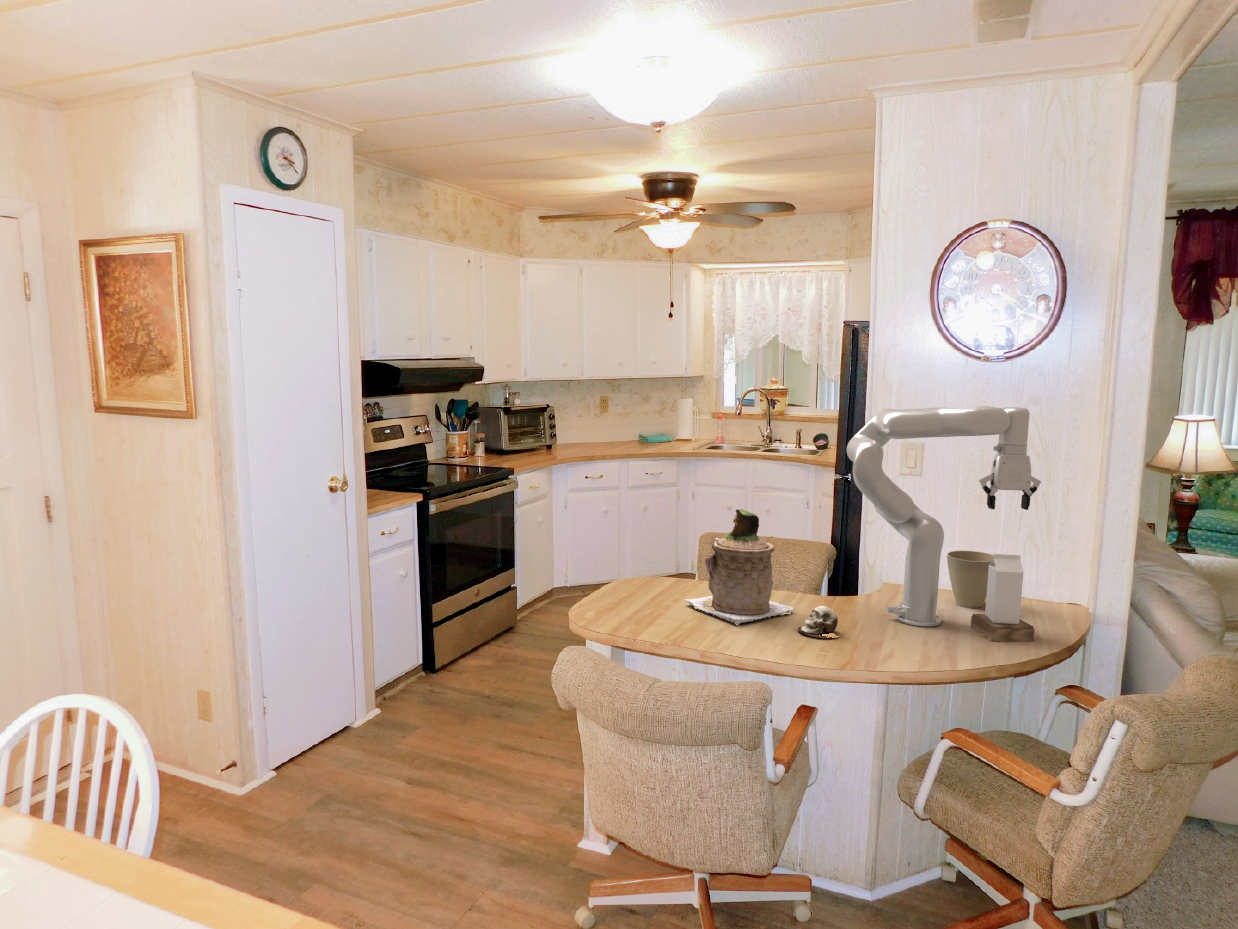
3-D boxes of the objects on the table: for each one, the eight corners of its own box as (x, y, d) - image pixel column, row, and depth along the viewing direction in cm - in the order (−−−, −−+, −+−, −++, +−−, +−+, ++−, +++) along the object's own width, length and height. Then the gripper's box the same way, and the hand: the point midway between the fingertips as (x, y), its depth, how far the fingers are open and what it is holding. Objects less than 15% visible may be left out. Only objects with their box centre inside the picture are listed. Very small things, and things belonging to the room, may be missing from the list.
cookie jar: (797, 614, 250) (801, 510, 246) (736, 628, 236) (740, 517, 232) (741, 594, 270) (744, 497, 266) (682, 605, 256) (685, 504, 252)
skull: (811, 639, 224) (800, 604, 230) (798, 653, 233) (788, 620, 238) (851, 635, 227) (839, 601, 233) (837, 649, 235) (826, 616, 241)
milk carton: (1019, 624, 230) (1024, 558, 228) (992, 623, 231) (997, 557, 228) (1010, 617, 237) (1015, 552, 235) (984, 615, 238) (989, 551, 235)
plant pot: (969, 596, 272) (973, 548, 270) (1004, 609, 258) (1008, 559, 256) (933, 600, 267) (936, 551, 265) (967, 613, 253) (971, 562, 251)
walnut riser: (991, 641, 228) (992, 627, 228) (970, 627, 240) (971, 613, 240) (1033, 641, 229) (1034, 627, 228) (1010, 627, 241) (1011, 613, 240)
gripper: (987, 451, 234) (983, 510, 236) (1049, 452, 234) (1044, 511, 236) (976, 448, 242) (972, 506, 244) (1036, 449, 241) (1031, 506, 244)
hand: (1007, 508), depth 240 cm, fingers open, 9 cm apart
